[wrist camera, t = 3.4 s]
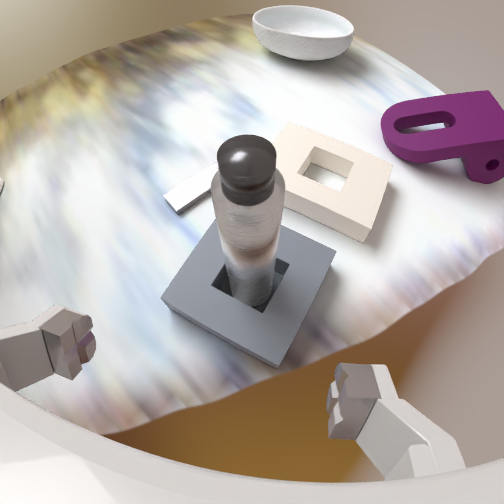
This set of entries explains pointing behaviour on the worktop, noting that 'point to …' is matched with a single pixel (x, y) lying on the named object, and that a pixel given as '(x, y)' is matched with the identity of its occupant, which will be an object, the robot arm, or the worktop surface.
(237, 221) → the capped cylinder peg
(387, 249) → the worktop surface
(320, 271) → the socket
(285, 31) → the cereal bowl
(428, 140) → the mounting bracket
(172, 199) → the bar
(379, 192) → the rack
